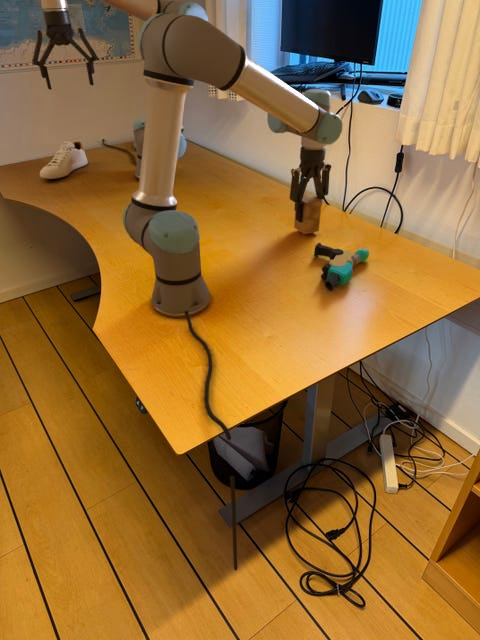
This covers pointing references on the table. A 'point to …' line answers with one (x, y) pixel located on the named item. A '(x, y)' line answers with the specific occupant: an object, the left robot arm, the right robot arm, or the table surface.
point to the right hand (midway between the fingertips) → (307, 218)
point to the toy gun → (339, 264)
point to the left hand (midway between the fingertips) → (71, 86)
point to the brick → (309, 215)
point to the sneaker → (65, 161)
